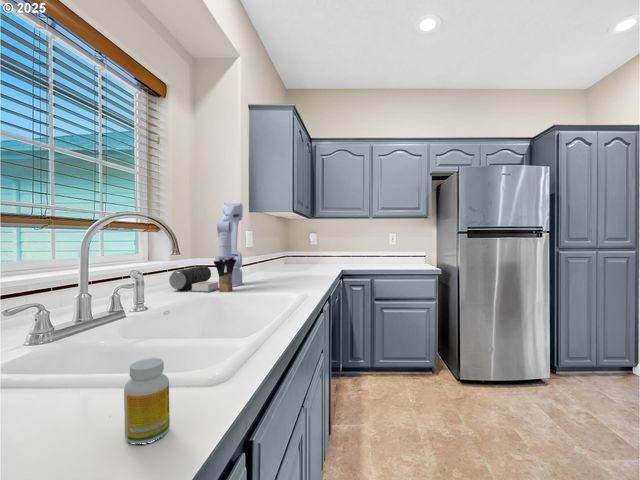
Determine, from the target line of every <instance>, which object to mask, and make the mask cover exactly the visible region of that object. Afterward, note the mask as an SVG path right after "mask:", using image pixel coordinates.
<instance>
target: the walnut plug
mask: <svg viewBox="0 0 640 480" xmlns="http://www.w3.org/2000/svg"><path fill="white" fill-rule="evenodd" d="M218 288H219V290H218V291H219V293H229V292H232V291H233V286H232V274H228V272H225V271H224V276H219V275H218Z"/></svg>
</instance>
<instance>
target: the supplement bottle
mask: <svg viewBox="0 0 640 480" xmlns="http://www.w3.org/2000/svg"><path fill="white" fill-rule="evenodd" d="M164 366H165V365H164V360H163V359H162V358H157V357H155V358H154V357H153V358H152V357H151V358H146V359H145V358H144V359H141V360H138V361H135V362H133V363H132V364H130V366H129V377H130V379H129V380H128V381H127V382H126V383H125V385H124V389H123V401H124V402H123V403H124V404H123V405H124V408H123V409H124V440H125V441H126V443H128V442H130V443H135V444H140V443H141V444H142V443H148V442H151V441H153V440H156V439H158V438H160V437H162V436H163V435H164V434H166V435H167V433H168V432H169V430H170V428H171V427H170V426H171V425H170V422H171V421H170V380H169V377H168V375H166V374H165V373H163V372H164V369H165V367H164ZM169 427H170V428H169ZM167 431H168V432H167ZM163 437H164V436H163ZM163 437H162V438H163Z"/></svg>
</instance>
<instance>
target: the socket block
mask: <svg viewBox="0 0 640 480" xmlns="http://www.w3.org/2000/svg"><path fill="white" fill-rule="evenodd" d="M215 291H219V281H205V282H199V283H194V284H192V286H191V289H190V290H189V292H190V293H207V292H209V293H212V292H215Z"/></svg>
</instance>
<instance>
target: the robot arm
mask: <svg viewBox="0 0 640 480" xmlns="http://www.w3.org/2000/svg"><path fill="white" fill-rule="evenodd" d="M243 206H244V205H243V204H242V203H241V202H240V203H230V202H229V203H223V204H222V213H223V214H222V216H221V219H220V221H219V222H217V223H216V230H217V237H218V255H217V256H215V257H214V260H213V264H214V266H215V268H216V271H217V274H218V277H219V276H224V272H228V274H232V287H239V286H242V285H244V284H245V283H244V282H243V271H242V269H241V268H242V266H243V255H242V253H241V251H239V250H238V233H239V231H238V230H239V222H240V221H242V220H243V212H244V211H243Z"/></svg>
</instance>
